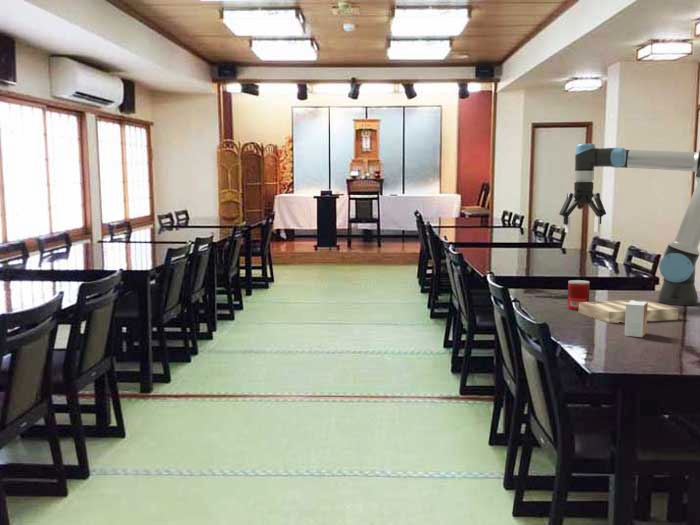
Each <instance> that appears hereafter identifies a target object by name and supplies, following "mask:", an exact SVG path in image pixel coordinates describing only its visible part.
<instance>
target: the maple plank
mask: <svg viewBox="0 0 700 525" xmlns="http://www.w3.org/2000/svg"><path fill="white" fill-rule="evenodd" d="M630 301H639V302H648V306H647V322H655V321H656V322H658V321H659V322H661V321H678V320H679V310H680V309H679V308H677V307H674V306H669V305H667V304H663V303H660V302H654V301H650V300H647V299H628V300H605V301H604V300H602V301H589V302H579V310H578V313H579V314H581V315H584V316H587V317H589V318H592V317H593V319H595V318H596V319H595V320H598V319H599V320H598V321H601V320H602V321H601V322H604V321H605V323H608V324H618V323H619V322H622V323H625V313H626V304H627V303H629V302H630Z"/></svg>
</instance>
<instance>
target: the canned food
mask: <svg viewBox="0 0 700 525" xmlns="http://www.w3.org/2000/svg"><path fill="white" fill-rule="evenodd" d="M590 288H591V286H590V281H589V280H580V279H574V280H573V279H571V280H568V284H567V309H568V310H571V311H576V312H577V311H578V310H579V302H590Z"/></svg>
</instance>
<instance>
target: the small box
mask: <svg viewBox="0 0 700 525" xmlns="http://www.w3.org/2000/svg"><path fill="white" fill-rule="evenodd" d="M647 306H648V302H639V301H630V302H629V303H627V304H626V313H625V322H624V336H626V337H635V338H636V337H637V338H643V337H644V336H645V335H646V334H647V324H648V323H647V322H648V321H647Z"/></svg>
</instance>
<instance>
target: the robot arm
mask: <svg viewBox="0 0 700 525" xmlns="http://www.w3.org/2000/svg"><path fill="white" fill-rule="evenodd" d="M574 165H575V166H574V181H575V182H574V186H573V190H574V193H573V192H567V194H566V199H565V201H564V203H563V205H562V207H561V209H560V211H559V213H558V214H559V216H562V217H563V225H564V233H568V234H569V233H571V217H570V215H571V214H572V212H573V211H574V210H575V209H576V207H577V206H578V205H584V204H585V205H586V204H587V205H588V206H589V207H590V209H591V210H592V211H593V212H594V214H595V216H594V219H593V220H594V223H593V225H594V226H593V227H594V228H593V232H594V233H600V227H601V226H600V225H601V224H602V217H603V216H605V215H607V212H606V210H605V206H604V205H603V203H602V199H601V194H600V193H599V192H594V182H593V181H594V178H595V168H599V167H601V168H602V167H603V168H605V167H607V168H609V167H610V168H617V169H619V168H623V169H624V168H625V169H644V170H645V169H647V170H662V171H663V170H665V171H683V172H684V171H685V172H694V173H695V174H696V175H695V176H694V178H695V180H696V182H697V183H696V184H695V189H694V190H693V193H692V196H691V198H690V200H689V202H688V206H687V208H686V210H685V213H684V216H683V218H682V221H681V224H680V226H679V228H678V231H677V234H676V236H675V238H674V241H671V242H669V243H668V245H667V246H666V247H665V249H664V255H663V257H662V258H661V259H660V261H659V265H658V269H659V272H660V274H661V276H662V277H663V279H662V280H663V282H662V286H661V287H660V291H659V294H658V296H657V303H660V304H664V305H675V306H696V305H698V304H699V297H698V293H697V289H696V286H695V282H696V281H695V280H696V263H697V261H698V258H699V256H700V251H699V249H698V247H699V245H700V149H698V150H697V151H675V150H674V151H669V150H668V151H667V150H645V149H643V150H642V149H641V150H640V149H626V148H624V147H604V148H599V147H598V148H597V147H596V145H595V144H594V143H579V144H577V145H576V146H575V154H574ZM573 199H574V200H573ZM593 199H594V200H593ZM572 200H573V201H572ZM571 202H572V203H571Z"/></svg>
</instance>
